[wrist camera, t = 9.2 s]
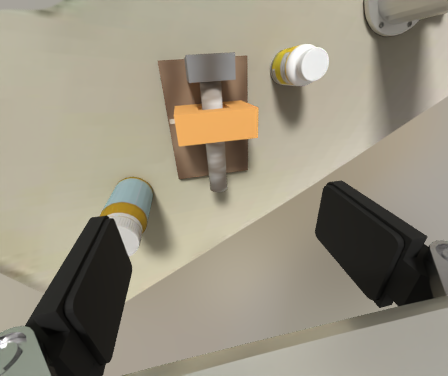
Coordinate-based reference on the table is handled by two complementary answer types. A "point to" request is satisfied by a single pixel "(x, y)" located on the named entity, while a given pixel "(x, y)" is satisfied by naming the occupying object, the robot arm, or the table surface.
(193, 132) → the collar
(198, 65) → the pipe stand
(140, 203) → the bottle
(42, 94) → the table surface
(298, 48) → the supplement bottle
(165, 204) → the table surface
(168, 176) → the table surface
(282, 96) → the table surface
